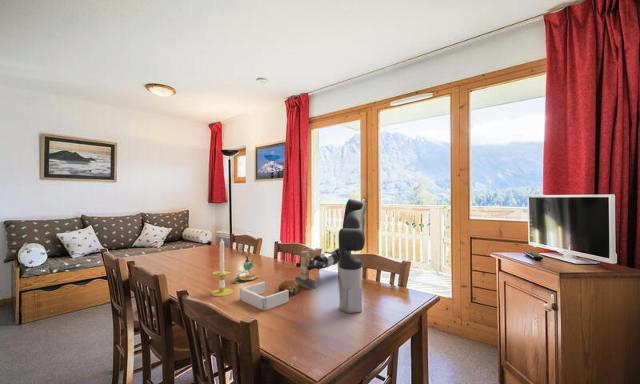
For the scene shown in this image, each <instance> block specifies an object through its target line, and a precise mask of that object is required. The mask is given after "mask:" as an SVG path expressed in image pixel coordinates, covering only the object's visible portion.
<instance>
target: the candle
mask: <svg viewBox="0 0 640 384" xmlns="http://www.w3.org/2000/svg"><path fill="white" fill-rule="evenodd" d="M231 273H232V271H231V270H229V269H225V241H224V239H223V238H222V237H221V239H220V241H219V270H216V271H213V272H212V275H213V276H216V277H218V289H214V290H212V292H210V296H213V297H225V296H229V295H231V294H232V293H233V289H231V288H225V286H226V283H225V279H226V276H227V275H230V274H231Z"/></svg>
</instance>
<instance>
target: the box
mask: <svg viewBox="0 0 640 384" xmlns="http://www.w3.org/2000/svg"><path fill="white" fill-rule="evenodd" d="M264 293H266V281H261V282H258V283H254V284H250V285H247V286H244V287H240V288H239V300H240V301H242V302H244V303H246V304H249V305H251V306H253V307H255V308H257V309H259V310H261V311H264V312H265V311H268V310H271V309H273V308H275V307H276V308H277V307H278V306H280V305H281V306H282V305H283V304H286V303H288V302H289V301H290V296H289V290H285V291H282V292H279V291H278V292H276V293H273V294H270V295H267V296H264V295H261V294H264Z"/></svg>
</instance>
